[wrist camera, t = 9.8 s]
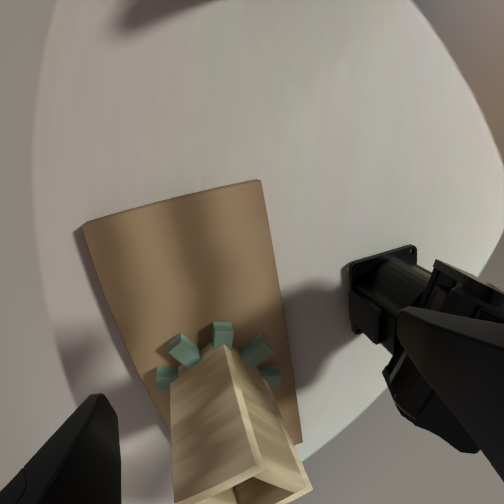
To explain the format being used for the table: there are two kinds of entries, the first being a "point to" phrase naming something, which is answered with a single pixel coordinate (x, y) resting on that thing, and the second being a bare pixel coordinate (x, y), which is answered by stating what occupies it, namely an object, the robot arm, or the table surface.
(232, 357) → the open-ended square tube
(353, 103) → the table surface
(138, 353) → the gear board
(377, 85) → the table surface
